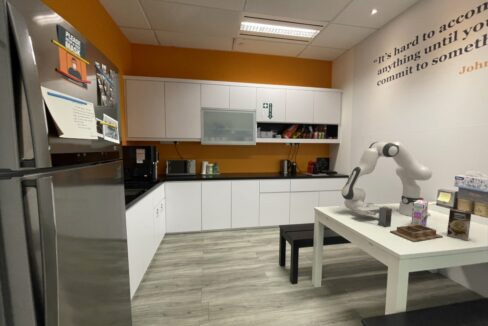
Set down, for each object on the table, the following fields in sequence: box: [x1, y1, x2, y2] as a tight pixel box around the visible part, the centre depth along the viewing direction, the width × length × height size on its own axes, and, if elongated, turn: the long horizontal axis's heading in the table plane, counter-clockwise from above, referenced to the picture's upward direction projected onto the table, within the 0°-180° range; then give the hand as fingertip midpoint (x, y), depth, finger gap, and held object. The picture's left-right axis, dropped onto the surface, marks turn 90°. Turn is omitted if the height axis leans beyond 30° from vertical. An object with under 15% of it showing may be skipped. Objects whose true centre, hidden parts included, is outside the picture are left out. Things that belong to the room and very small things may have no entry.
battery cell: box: [377, 206, 393, 228], centre depth 144 cm, size 5×5×13 cm
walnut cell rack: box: [389, 224, 444, 243], centre depth 130 cm, size 24×14×4 cm, turn 108°
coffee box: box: [446, 208, 472, 241], centre depth 127 cm, size 9×6×16 cm
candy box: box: [410, 200, 429, 226], centre depth 146 cm, size 14×6×16 cm, turn 129°
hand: (380, 213), depth 148 cm, fingers open, 8 cm apart
